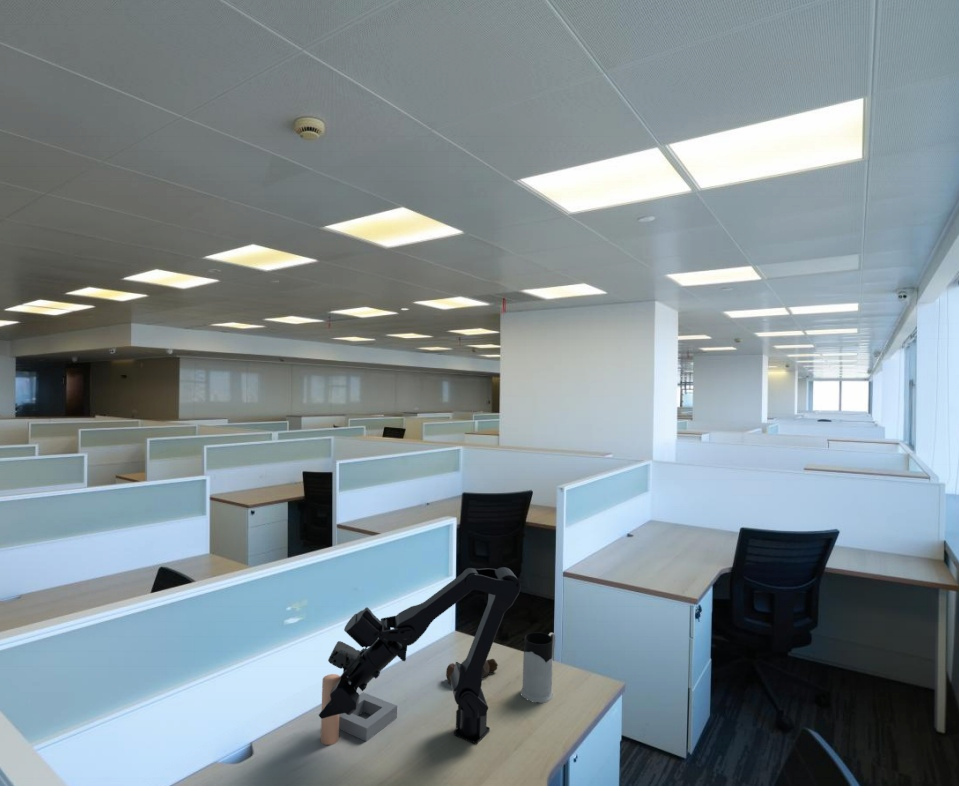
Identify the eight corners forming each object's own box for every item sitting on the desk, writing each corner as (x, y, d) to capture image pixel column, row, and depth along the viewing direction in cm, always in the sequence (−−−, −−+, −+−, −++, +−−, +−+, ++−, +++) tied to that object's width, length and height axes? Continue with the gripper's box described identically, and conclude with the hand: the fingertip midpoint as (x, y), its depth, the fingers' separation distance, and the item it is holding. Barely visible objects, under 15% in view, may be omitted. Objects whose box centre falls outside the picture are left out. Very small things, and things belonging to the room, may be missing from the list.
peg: (342, 737, 129) (344, 677, 129) (329, 747, 125) (331, 685, 125) (329, 732, 131) (331, 672, 131) (316, 741, 127) (318, 679, 127)
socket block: (396, 717, 137) (397, 705, 137) (366, 741, 128) (366, 728, 128) (362, 703, 143) (363, 692, 143) (331, 725, 133) (331, 713, 133)
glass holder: (514, 695, 149) (516, 639, 149) (539, 674, 161) (540, 622, 161) (544, 706, 144) (545, 648, 144) (567, 683, 156) (568, 630, 156)
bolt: (495, 678, 161) (451, 690, 153) (487, 663, 165) (443, 674, 157) (502, 665, 159) (457, 677, 151) (494, 650, 163) (450, 660, 154)
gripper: (359, 616, 137) (313, 659, 137) (341, 652, 119) (288, 702, 119) (390, 649, 137) (344, 692, 137) (377, 690, 119) (323, 740, 119)
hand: (325, 705), depth 128 cm, fingers open, 9 cm apart
